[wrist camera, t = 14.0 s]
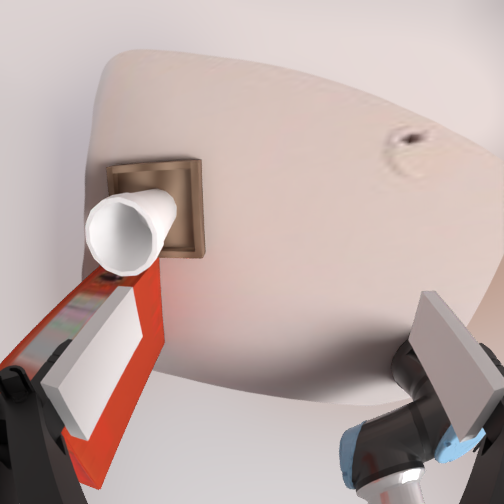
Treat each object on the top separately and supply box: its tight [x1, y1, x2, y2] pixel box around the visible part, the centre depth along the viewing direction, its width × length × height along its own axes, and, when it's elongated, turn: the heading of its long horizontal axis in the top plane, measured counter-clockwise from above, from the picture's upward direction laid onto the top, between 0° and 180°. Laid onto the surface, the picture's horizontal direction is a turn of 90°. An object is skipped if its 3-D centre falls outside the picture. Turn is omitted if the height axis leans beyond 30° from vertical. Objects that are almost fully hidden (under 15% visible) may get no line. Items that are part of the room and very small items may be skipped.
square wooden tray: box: [106, 160, 205, 258], centre depth 44 cm, size 14×14×2 cm
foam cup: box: [85, 189, 177, 276], centre depth 39 cm, size 10×9×13 cm
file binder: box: [0, 257, 165, 490], centre depth 37 cm, size 8×17×32 cm, turn 175°
